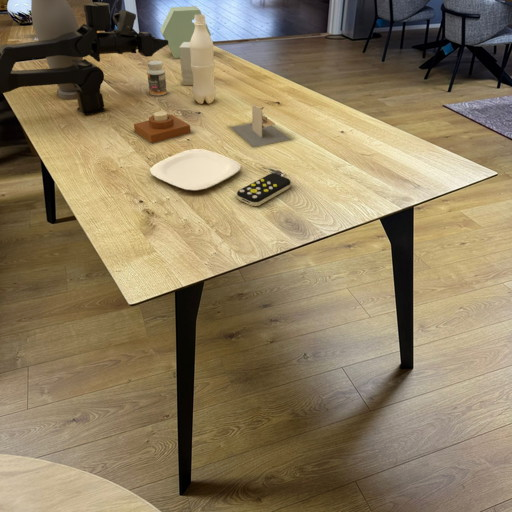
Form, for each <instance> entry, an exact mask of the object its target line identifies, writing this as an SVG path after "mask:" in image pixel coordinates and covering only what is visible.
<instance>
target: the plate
mask: <svg viewBox="0 0 512 512" xmlns="http://www.w3.org/2000/svg"><path fill="white" fill-rule="evenodd" d="M241 169H242V165H241V164H240V163H239V162H238V161H237V160H235V159H233V158H231V157H228V156H226V155H223V154H220V153H218V152H215V151H212V150H208V149H202V148H192V149H185V150H184V151H180V152H178V153H175V154H172V155H171V156H169V157H167V158H165V159H162V160H160V161H158V162H157V163H155V164H153V165H152V167H150V169H149V172H150V174H151V176H153V177H155V178H156V179H158V180H159V181H161V182H164V183H166V184H168V185H170V186H173V187H175V188H176V189H177V188H178V189H181V190H184V191H191V192H199V191H203V190H207V189H210V188H213V187H214V186H215V187H216V186H218V185H219V184H220V183H223V182H225V181H227V180H228V179H230V178H231V177H234V175H236V174H237V173H239V172H240V170H241Z"/></svg>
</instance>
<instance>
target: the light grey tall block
mask: <svg viewBox="0 0 512 512" xmlns="http://www.w3.org/2000/svg"><path fill="white" fill-rule="evenodd" d="M179 51H180V58H179V59H180V69H181V79H182V86H193V72H192V68H191V54H190V42H183V43H182V44H181V46H180V47H179Z"/></svg>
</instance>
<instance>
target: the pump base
mask: <svg viewBox="0 0 512 512" xmlns="http://www.w3.org/2000/svg"><path fill="white" fill-rule="evenodd" d="M167 116H168V119H167V120H164V121H155V120H154V114H153V115H151V116H149V117H148V120H145V121H140V122H136V123H133V129H134V132H135V133H136V134H137V135H139V136H140V137H142V138H144V139H145V140H146V141H148V142H149V143H150V144H154V143H158V142H162V141H165V140H170V139H173V138H175V137H179V136H182V135H187V134H191V124H189V123H188V122H186V121H184V120H182V119H180V118H179V117H177V116H175V115H173V114H168V113H167Z"/></svg>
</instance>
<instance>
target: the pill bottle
mask: <svg viewBox="0 0 512 512" xmlns="http://www.w3.org/2000/svg"><path fill="white" fill-rule="evenodd" d="M163 66H164V65H163V61H161V60H150V61H147V67H148V69H147V71H146V75H147V83H148V90H149V94H150V95H151V96H156V97H160V96H164V95H166V94H167V92H168V90H167V81H166V79H167V78H166V72H165V70H164V69H165V68H163Z"/></svg>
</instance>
